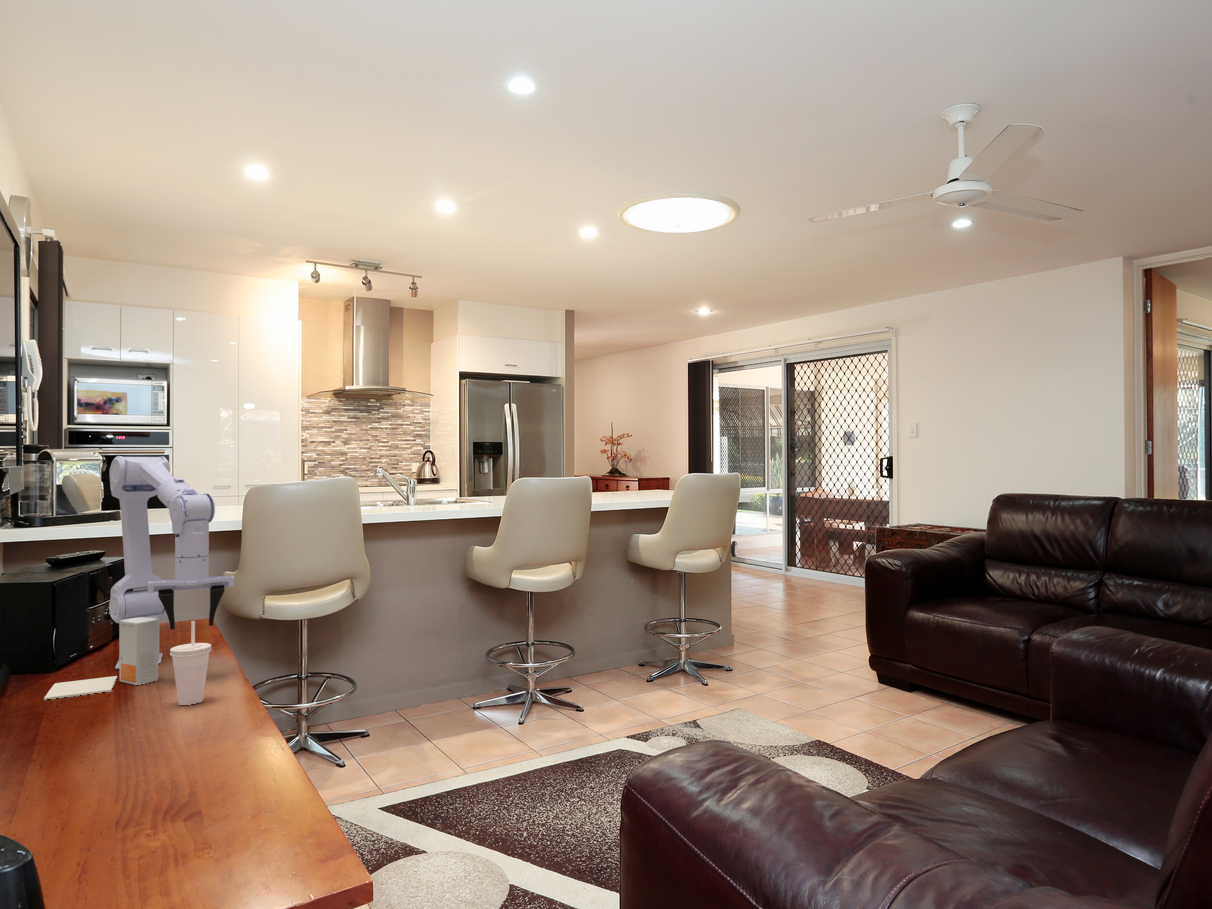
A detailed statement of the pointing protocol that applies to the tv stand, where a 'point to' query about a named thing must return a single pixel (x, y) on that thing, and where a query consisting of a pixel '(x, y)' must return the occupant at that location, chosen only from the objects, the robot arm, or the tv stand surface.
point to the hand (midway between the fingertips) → (192, 626)
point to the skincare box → (138, 650)
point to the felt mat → (81, 687)
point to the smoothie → (190, 669)
